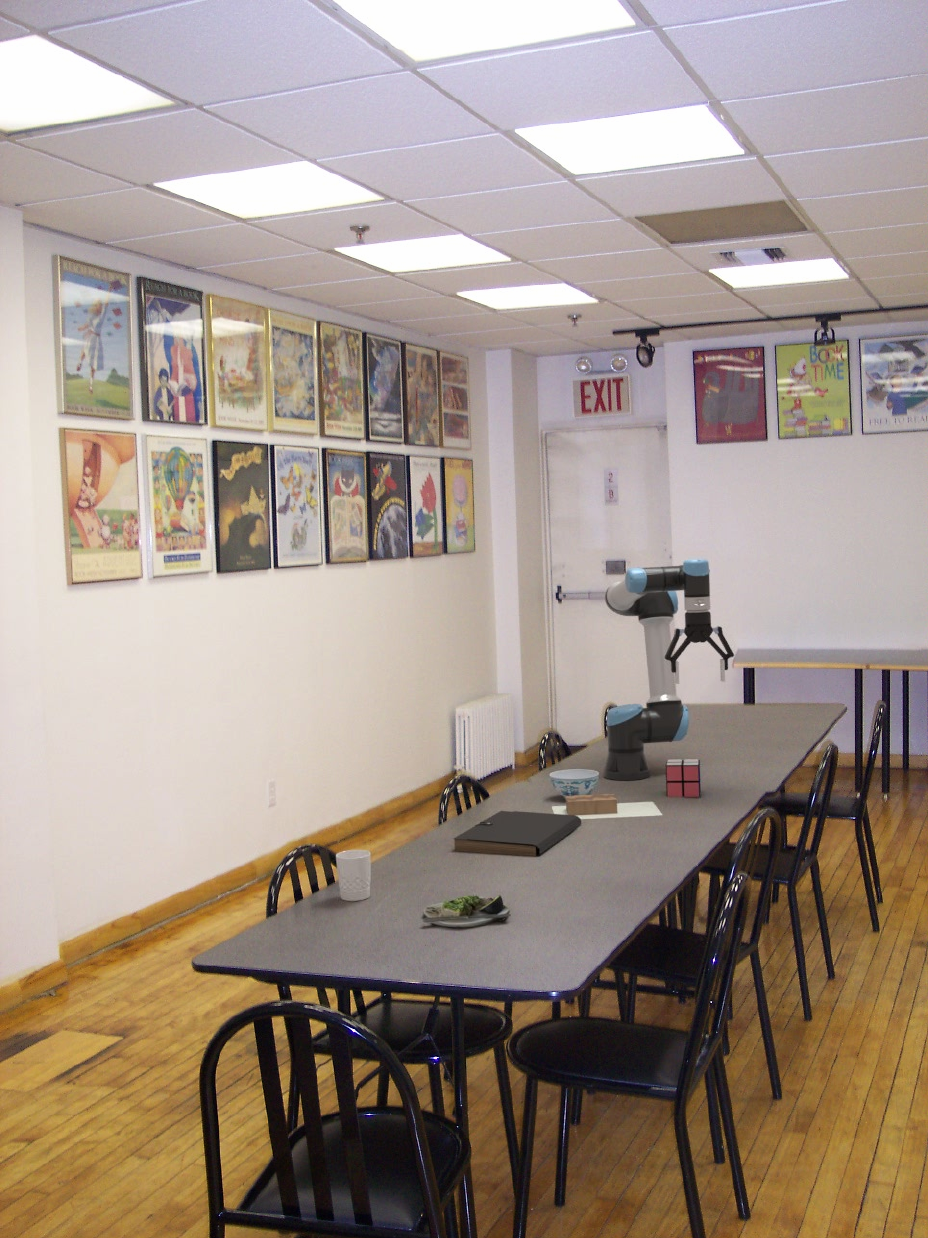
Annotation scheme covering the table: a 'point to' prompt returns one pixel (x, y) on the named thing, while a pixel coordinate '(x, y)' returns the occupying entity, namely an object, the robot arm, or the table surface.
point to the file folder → (517, 833)
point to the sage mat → (619, 811)
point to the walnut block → (591, 804)
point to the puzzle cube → (683, 778)
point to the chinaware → (574, 781)
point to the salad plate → (466, 912)
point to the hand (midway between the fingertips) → (700, 682)
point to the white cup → (354, 874)
